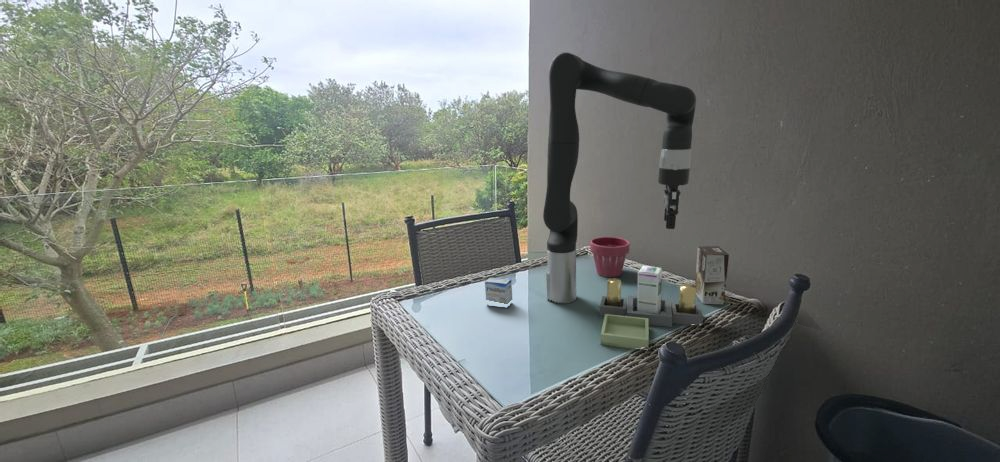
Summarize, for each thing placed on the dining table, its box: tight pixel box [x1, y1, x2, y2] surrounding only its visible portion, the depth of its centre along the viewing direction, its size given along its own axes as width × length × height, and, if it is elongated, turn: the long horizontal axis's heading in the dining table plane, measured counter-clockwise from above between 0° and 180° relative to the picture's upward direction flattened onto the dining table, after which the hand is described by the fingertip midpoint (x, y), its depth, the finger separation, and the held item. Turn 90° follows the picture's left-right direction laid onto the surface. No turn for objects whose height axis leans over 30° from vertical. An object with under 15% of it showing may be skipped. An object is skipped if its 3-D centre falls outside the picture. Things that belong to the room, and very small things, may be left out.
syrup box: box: [636, 265, 663, 314], centre depth 111 cm, size 6×6×14 cm
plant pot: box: [589, 236, 630, 278], centre depth 145 cm, size 14×14×13 cm
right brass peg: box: [678, 283, 696, 314], centre depth 108 cm, size 4×4×10 cm
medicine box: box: [484, 277, 513, 304], centre depth 125 cm, size 8×4×9 cm, turn 68°
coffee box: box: [694, 245, 730, 305], centre depth 119 cm, size 9×6×16 cm
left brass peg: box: [606, 277, 622, 307], centre depth 115 cm, size 4×4×10 cm
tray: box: [600, 314, 650, 350], centre depth 102 cm, size 12×12×3 cm
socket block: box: [599, 294, 704, 328], centre depth 113 cm, size 28×12×3 cm, turn 69°
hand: (669, 224), depth 106 cm, fingers open, 8 cm apart
